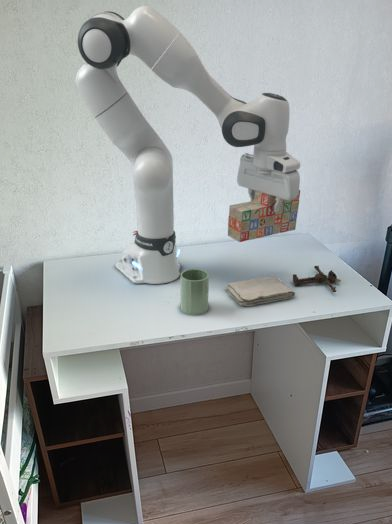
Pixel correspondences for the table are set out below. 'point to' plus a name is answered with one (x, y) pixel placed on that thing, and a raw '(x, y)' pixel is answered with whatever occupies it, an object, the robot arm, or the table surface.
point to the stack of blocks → (261, 217)
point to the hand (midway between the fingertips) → (264, 207)
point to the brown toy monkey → (318, 279)
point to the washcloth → (259, 291)
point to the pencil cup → (194, 291)
